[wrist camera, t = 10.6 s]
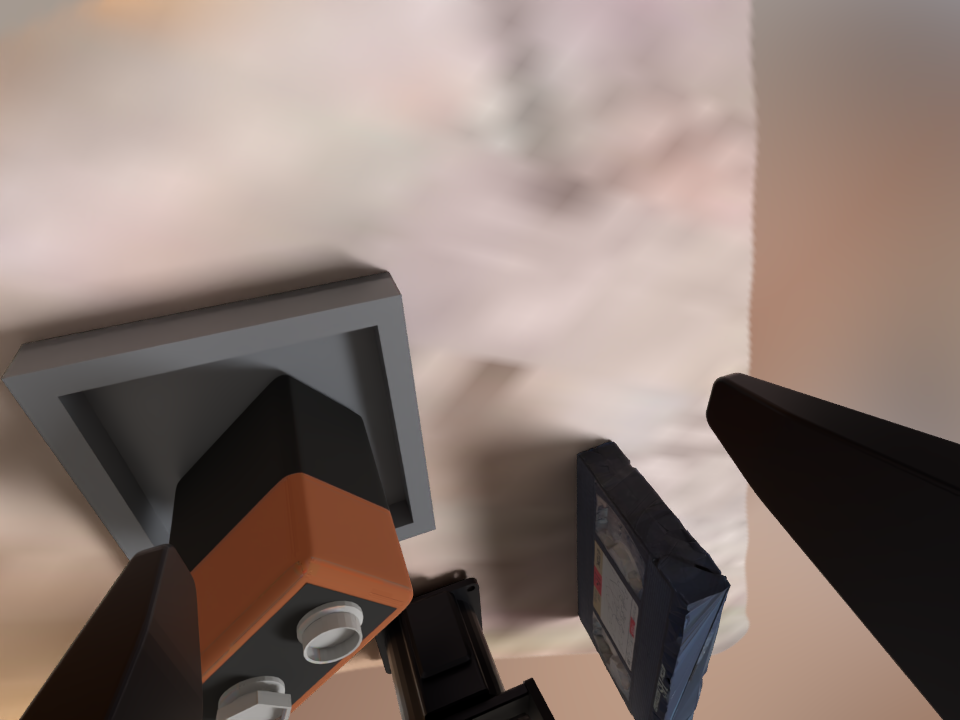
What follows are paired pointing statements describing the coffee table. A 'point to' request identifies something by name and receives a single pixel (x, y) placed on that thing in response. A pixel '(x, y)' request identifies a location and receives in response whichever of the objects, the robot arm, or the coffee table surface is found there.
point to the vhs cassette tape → (643, 588)
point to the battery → (286, 552)
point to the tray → (221, 395)
